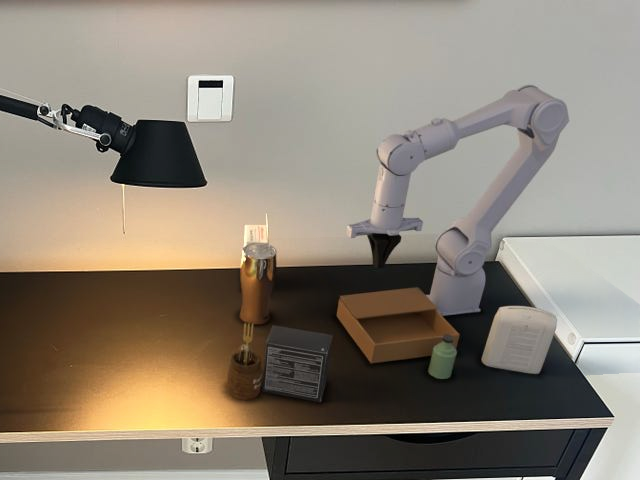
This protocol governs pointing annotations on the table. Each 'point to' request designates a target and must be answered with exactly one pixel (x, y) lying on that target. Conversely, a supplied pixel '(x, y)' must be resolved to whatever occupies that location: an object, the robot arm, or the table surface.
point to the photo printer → (519, 339)
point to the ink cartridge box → (256, 234)
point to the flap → (387, 302)
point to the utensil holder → (245, 371)
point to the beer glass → (257, 281)
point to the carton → (396, 333)
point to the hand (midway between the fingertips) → (377, 266)
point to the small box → (296, 363)
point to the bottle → (443, 358)
